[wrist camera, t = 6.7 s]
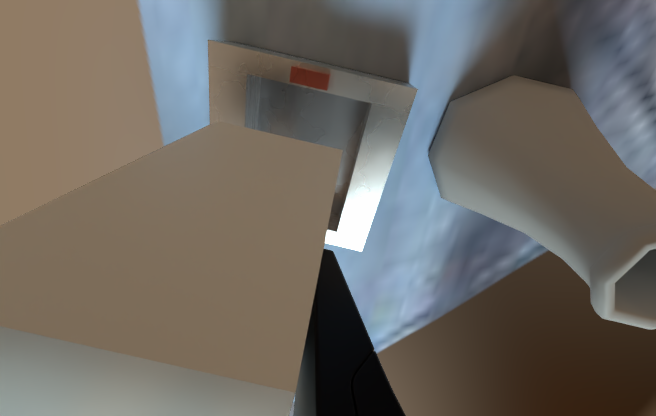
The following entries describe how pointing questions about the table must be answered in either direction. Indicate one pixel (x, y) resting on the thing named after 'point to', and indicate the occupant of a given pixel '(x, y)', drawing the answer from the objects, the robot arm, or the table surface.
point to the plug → (169, 282)
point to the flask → (554, 187)
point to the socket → (317, 120)
